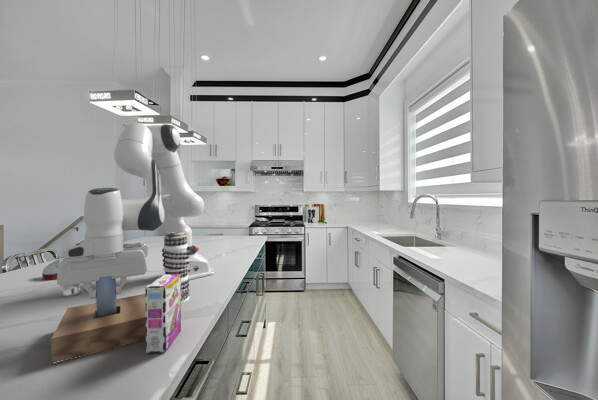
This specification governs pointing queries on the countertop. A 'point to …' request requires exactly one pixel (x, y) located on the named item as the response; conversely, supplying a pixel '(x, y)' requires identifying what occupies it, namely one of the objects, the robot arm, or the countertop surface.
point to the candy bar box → (163, 312)
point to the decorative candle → (177, 259)
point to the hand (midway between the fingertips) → (106, 295)
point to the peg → (106, 296)
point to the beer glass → (70, 287)
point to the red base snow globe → (50, 271)
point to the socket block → (99, 328)
